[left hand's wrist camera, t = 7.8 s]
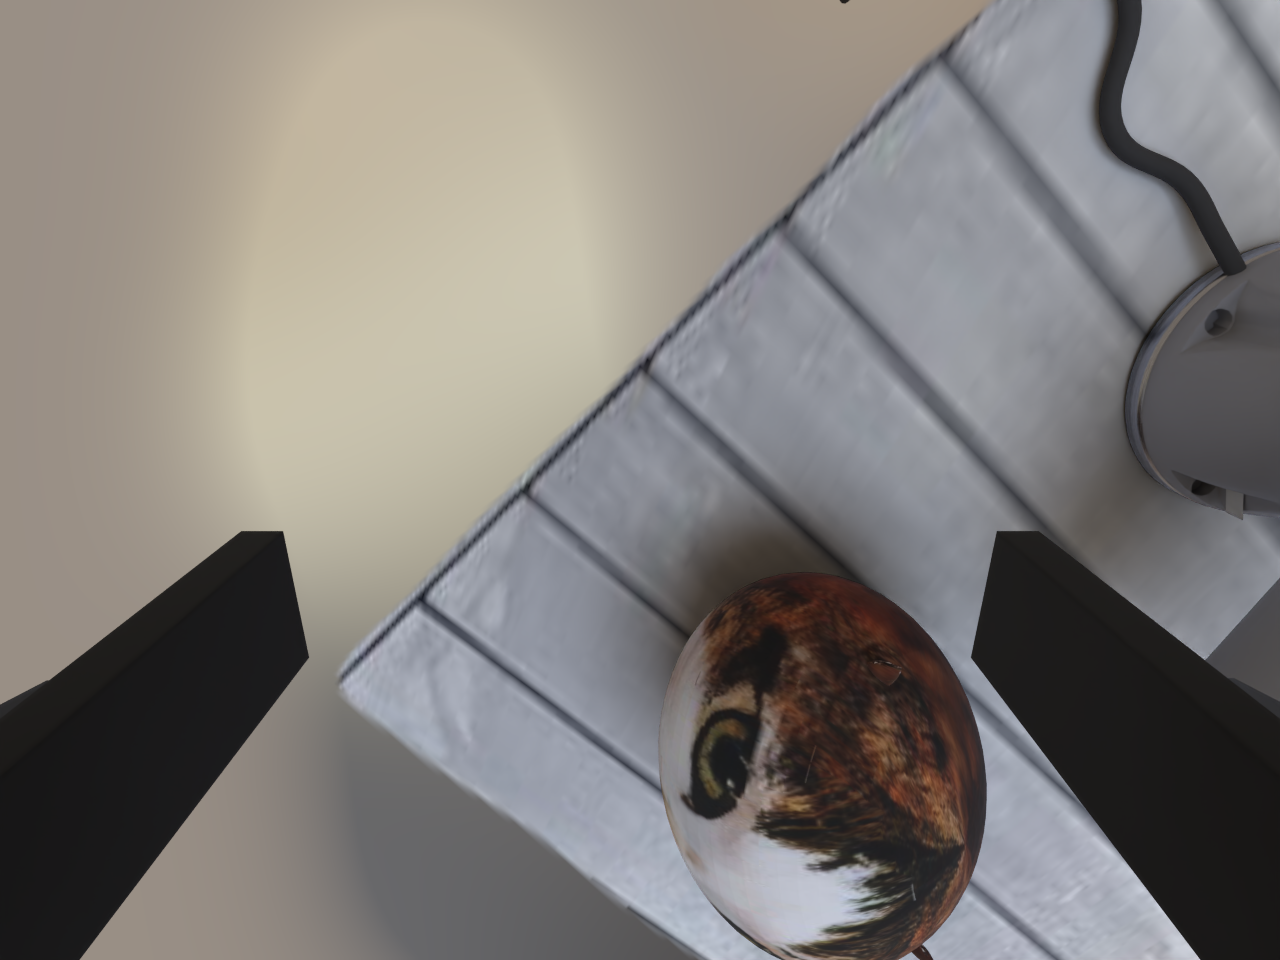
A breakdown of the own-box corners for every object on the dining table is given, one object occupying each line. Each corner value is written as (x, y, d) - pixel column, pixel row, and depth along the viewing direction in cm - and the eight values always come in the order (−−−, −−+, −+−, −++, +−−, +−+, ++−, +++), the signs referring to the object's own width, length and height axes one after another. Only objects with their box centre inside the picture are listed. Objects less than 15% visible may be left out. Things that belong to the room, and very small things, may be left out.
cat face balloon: (528, 611, 39) (816, 771, 23) (739, 493, 48) (1042, 550, 33) (617, 896, 46) (883, 1163, 30) (785, 743, 55) (1052, 887, 40)
